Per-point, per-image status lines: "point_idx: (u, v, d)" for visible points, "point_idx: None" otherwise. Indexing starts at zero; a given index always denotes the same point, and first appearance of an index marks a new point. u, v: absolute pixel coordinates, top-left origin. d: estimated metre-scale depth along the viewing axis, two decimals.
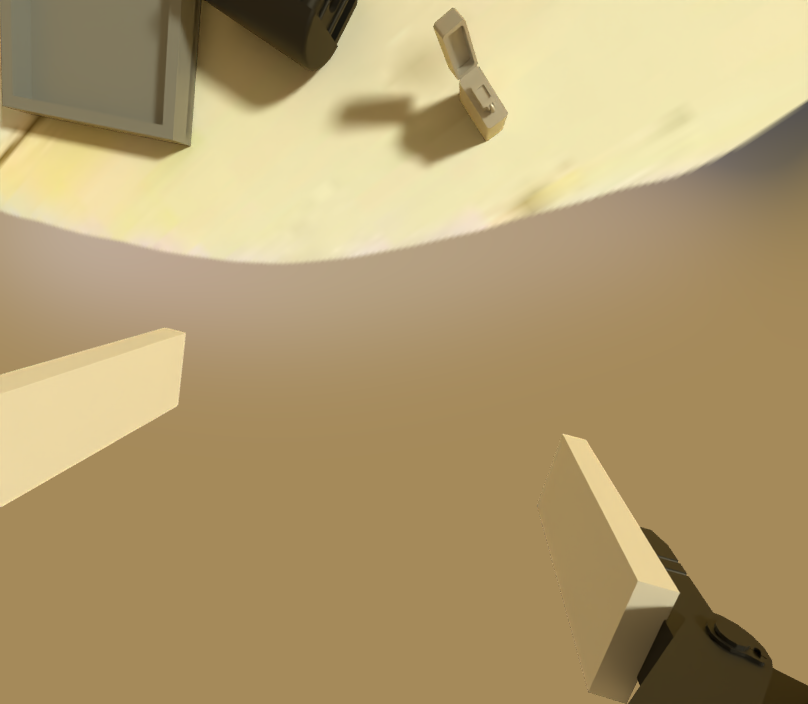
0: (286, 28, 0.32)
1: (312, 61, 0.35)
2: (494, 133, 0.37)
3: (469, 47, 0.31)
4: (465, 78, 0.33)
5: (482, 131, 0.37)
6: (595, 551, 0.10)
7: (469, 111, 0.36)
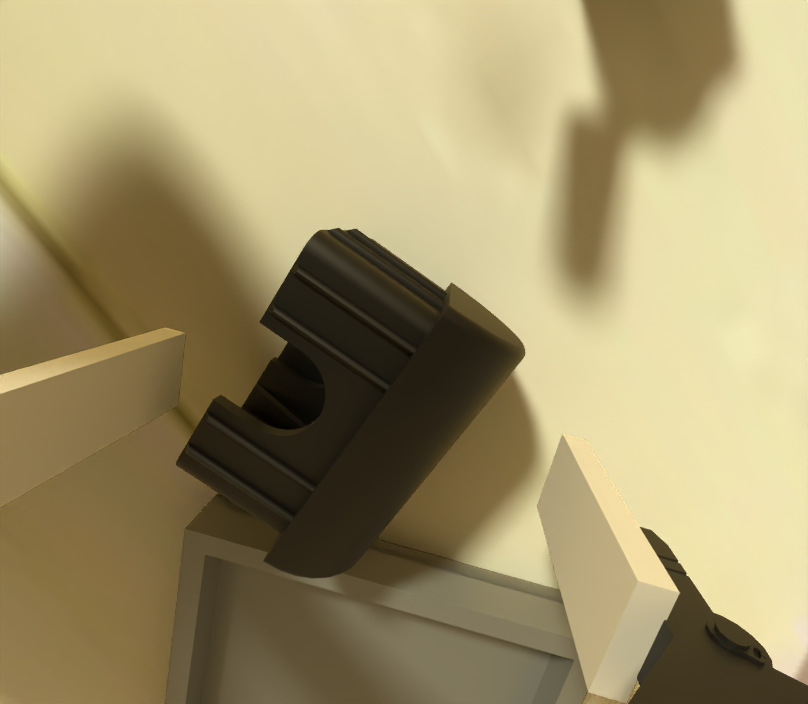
0: (469, 387, 0.13)
1: (511, 334, 0.15)
2: None
3: None
4: None
5: None
6: (595, 551, 0.10)
7: None
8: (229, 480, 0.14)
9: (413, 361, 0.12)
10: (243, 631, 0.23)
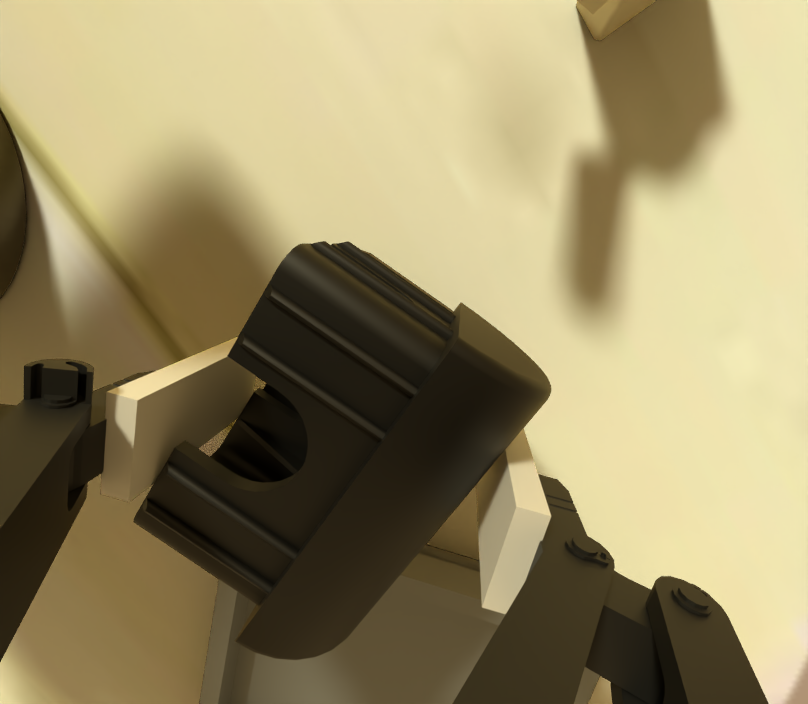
0: (484, 437, 0.10)
1: (533, 366, 0.12)
2: None
3: None
4: None
5: None
6: (499, 493, 0.12)
7: None
8: (194, 543, 0.12)
9: (413, 406, 0.10)
10: None
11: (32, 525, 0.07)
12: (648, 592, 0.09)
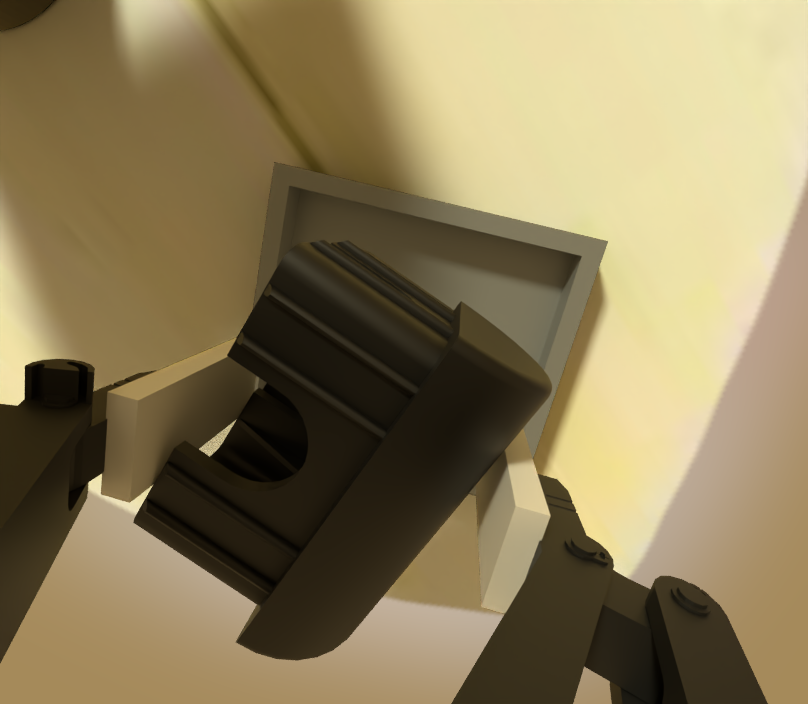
0: (485, 435, 0.10)
1: (534, 365, 0.12)
2: None
3: None
4: None
5: None
6: (499, 493, 0.12)
7: None
8: (195, 544, 0.12)
9: (414, 405, 0.09)
10: None
11: (33, 525, 0.07)
12: (647, 592, 0.09)
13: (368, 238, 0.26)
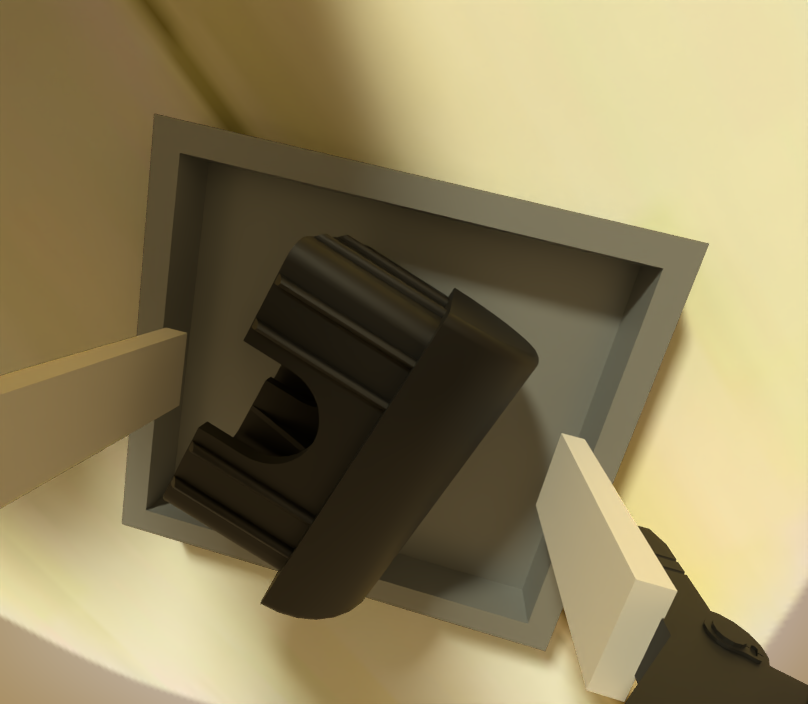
0: (478, 402, 0.11)
1: (522, 340, 0.13)
2: None
3: None
4: None
5: None
6: (593, 550, 0.10)
7: None
8: (220, 515, 0.13)
9: (412, 376, 0.11)
10: (231, 319, 0.18)
11: None
12: None
13: None
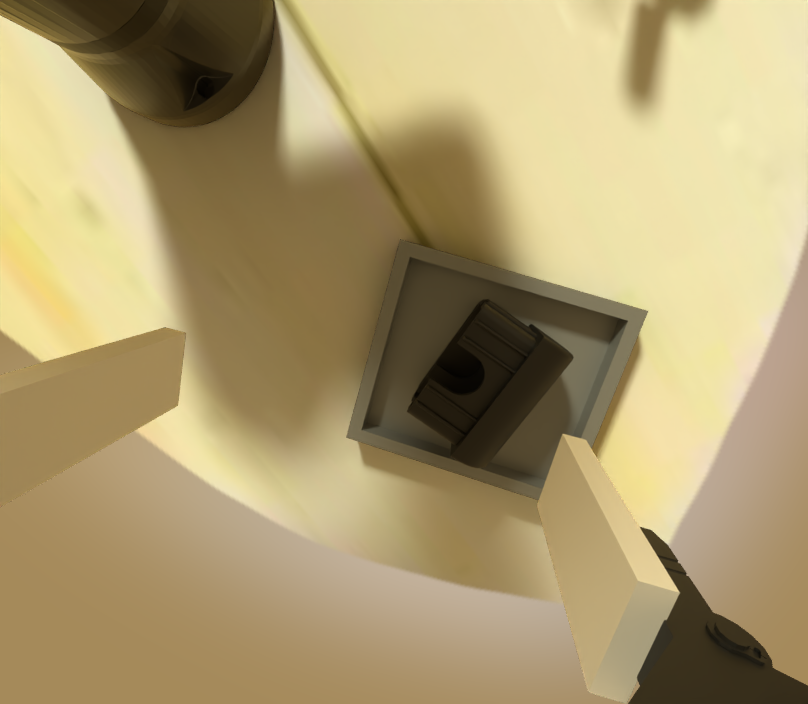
0: (551, 372, 0.29)
1: (566, 349, 0.31)
2: None
3: None
4: None
5: None
6: (595, 551, 0.10)
7: None
8: (436, 417, 0.30)
9: (528, 359, 0.28)
10: (412, 333, 0.36)
11: None
12: None
13: (462, 296, 0.35)
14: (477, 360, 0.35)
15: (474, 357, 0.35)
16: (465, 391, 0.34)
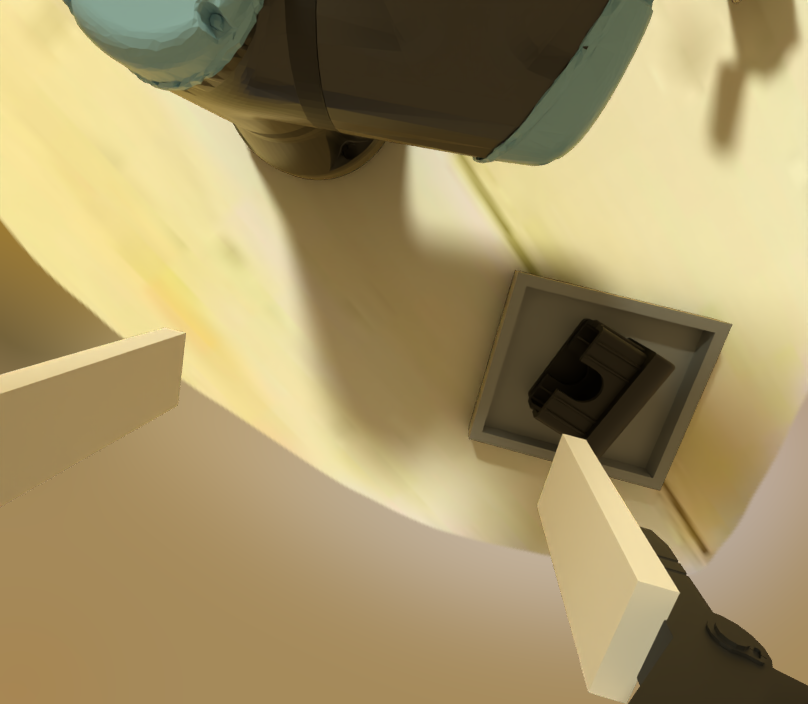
0: (660, 380, 0.35)
1: None
2: None
3: None
4: None
5: None
6: (595, 551, 0.10)
7: None
8: (562, 421, 0.37)
9: (642, 372, 0.34)
10: (523, 348, 0.42)
11: None
12: None
13: (566, 315, 0.41)
14: (581, 369, 0.41)
15: (578, 367, 0.41)
16: (573, 396, 0.41)
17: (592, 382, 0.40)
